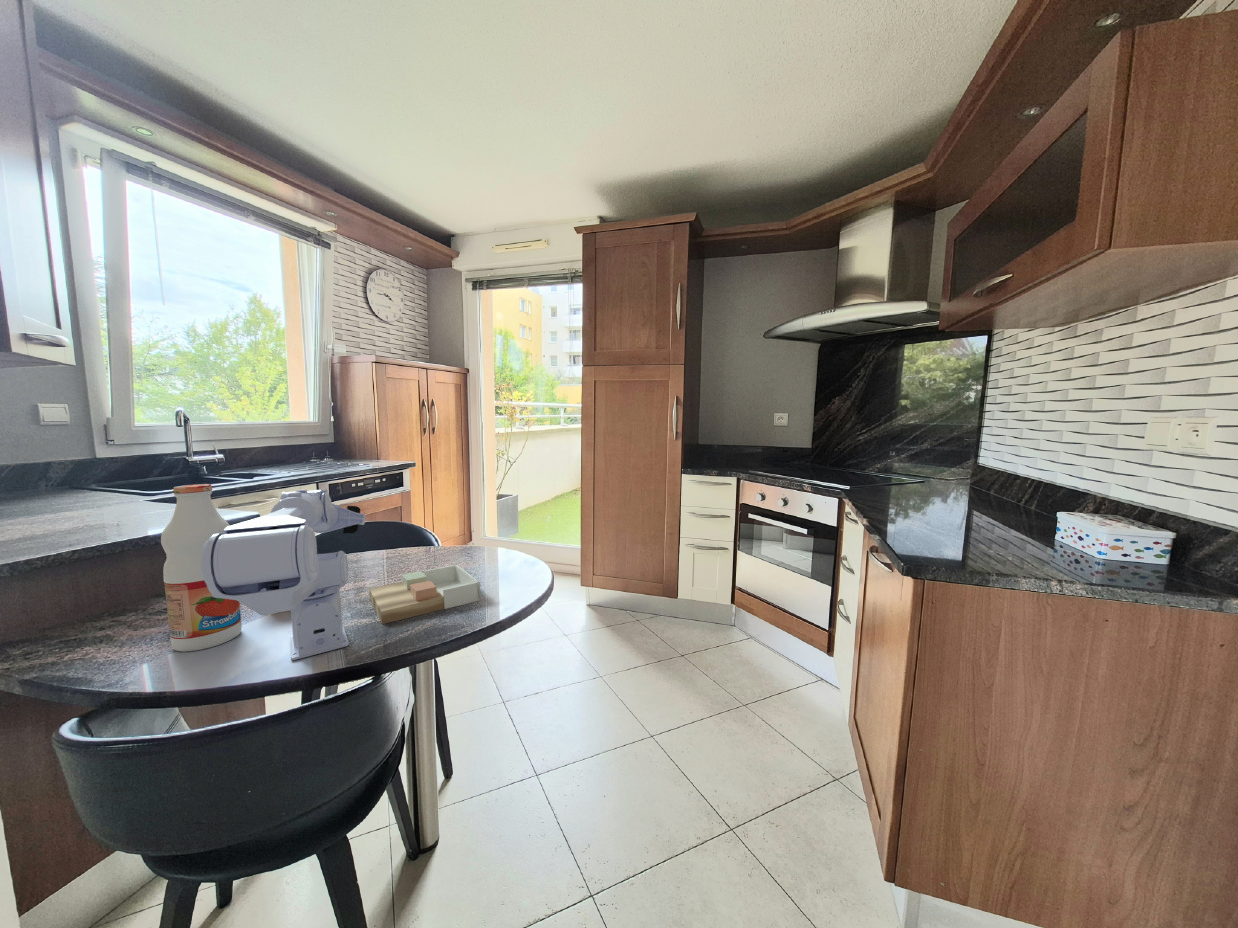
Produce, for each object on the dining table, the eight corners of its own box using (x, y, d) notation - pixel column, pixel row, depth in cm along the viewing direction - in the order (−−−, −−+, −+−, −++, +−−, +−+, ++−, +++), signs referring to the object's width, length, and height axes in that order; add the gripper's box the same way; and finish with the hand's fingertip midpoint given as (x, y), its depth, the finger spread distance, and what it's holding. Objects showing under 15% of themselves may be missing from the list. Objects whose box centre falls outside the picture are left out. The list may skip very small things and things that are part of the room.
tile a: (436, 596, 92) (436, 586, 92) (416, 600, 90) (415, 591, 90) (430, 589, 96) (430, 580, 96) (410, 593, 94) (410, 584, 94)
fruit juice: (199, 630, 84) (184, 483, 82) (254, 626, 86) (241, 481, 83) (155, 655, 75) (137, 490, 73) (217, 650, 76) (201, 487, 74)
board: (444, 608, 92) (443, 596, 92) (381, 624, 85) (381, 611, 85) (425, 587, 105) (424, 577, 105) (369, 599, 98) (369, 588, 98)
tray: (480, 600, 96) (479, 581, 96) (444, 609, 92) (443, 590, 91) (457, 580, 109) (456, 564, 109) (425, 587, 105) (424, 570, 105)
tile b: (426, 585, 99) (426, 576, 99) (407, 589, 97) (406, 580, 96) (421, 579, 103) (421, 570, 103) (402, 583, 101) (402, 574, 100)
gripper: (364, 495, 87) (370, 505, 99) (273, 490, 81) (292, 501, 93) (359, 532, 85) (366, 537, 97) (266, 529, 80) (286, 535, 92)
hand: (329, 521), depth 95 cm, fingers open, 7 cm apart
